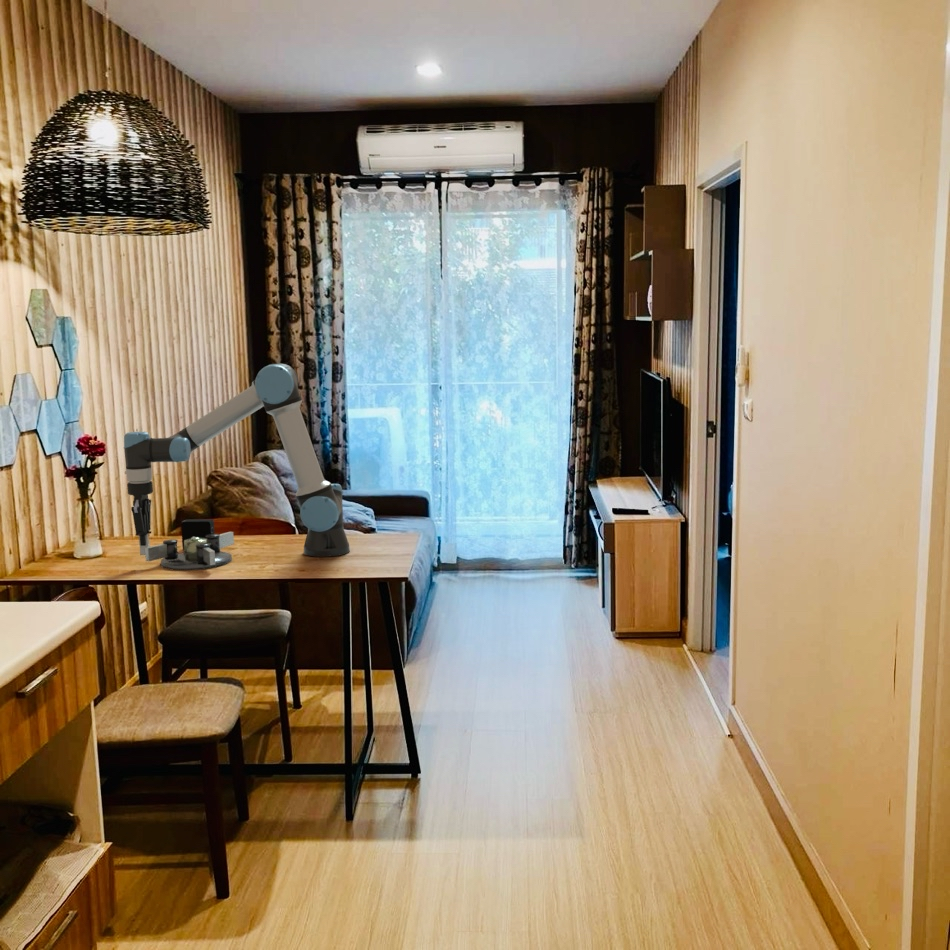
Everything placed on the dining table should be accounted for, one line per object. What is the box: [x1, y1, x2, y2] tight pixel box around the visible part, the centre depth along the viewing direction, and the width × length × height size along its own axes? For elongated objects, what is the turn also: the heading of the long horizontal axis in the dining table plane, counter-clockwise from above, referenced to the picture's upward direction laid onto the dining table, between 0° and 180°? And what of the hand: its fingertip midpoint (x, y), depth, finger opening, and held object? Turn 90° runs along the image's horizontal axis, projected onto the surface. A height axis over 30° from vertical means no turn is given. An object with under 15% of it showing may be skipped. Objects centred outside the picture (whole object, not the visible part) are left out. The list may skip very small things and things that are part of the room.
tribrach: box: [160, 537, 233, 571], centre depth 311 cm, size 22×22×8 cm
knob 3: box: [206, 531, 235, 553], centre depth 321 cm, size 11×4×6 cm, turn 153°
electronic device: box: [180, 518, 215, 551], centre depth 330 cm, size 4×10×10 cm, turn 89°
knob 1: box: [144, 538, 179, 562], centre depth 308 cm, size 11×4×6 cm, turn 145°
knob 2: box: [196, 543, 215, 565], centre depth 301 cm, size 11×4×6 cm, turn 33°
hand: (145, 554), depth 306 cm, fingers closed
